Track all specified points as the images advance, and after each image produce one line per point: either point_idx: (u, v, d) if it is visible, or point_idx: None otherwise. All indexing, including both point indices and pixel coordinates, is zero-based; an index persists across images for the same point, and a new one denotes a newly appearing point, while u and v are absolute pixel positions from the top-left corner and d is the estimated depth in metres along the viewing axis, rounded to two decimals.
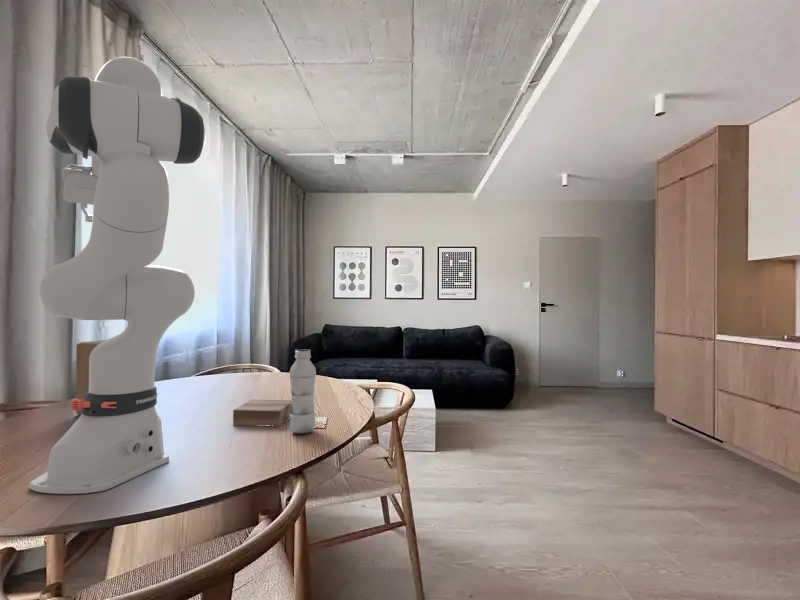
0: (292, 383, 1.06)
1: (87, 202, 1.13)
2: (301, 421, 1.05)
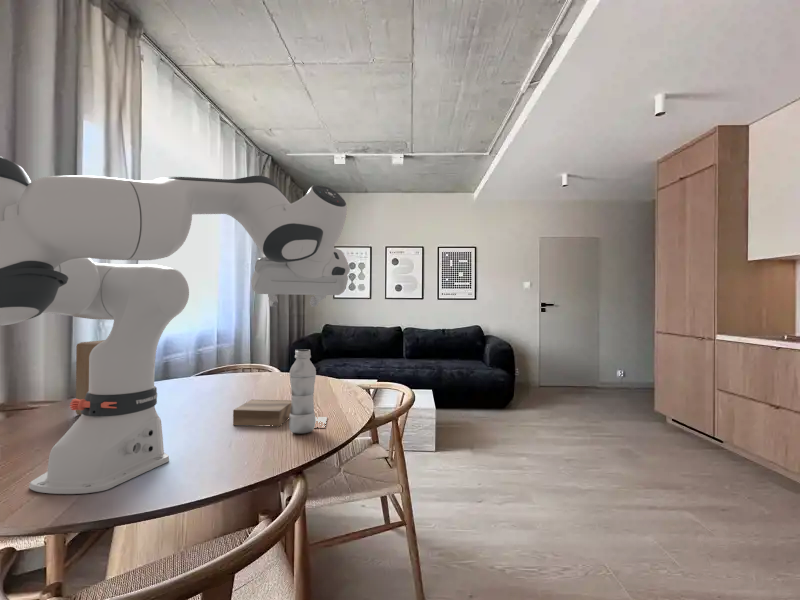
0: (292, 383, 1.06)
1: (277, 293, 0.94)
2: (301, 421, 1.05)
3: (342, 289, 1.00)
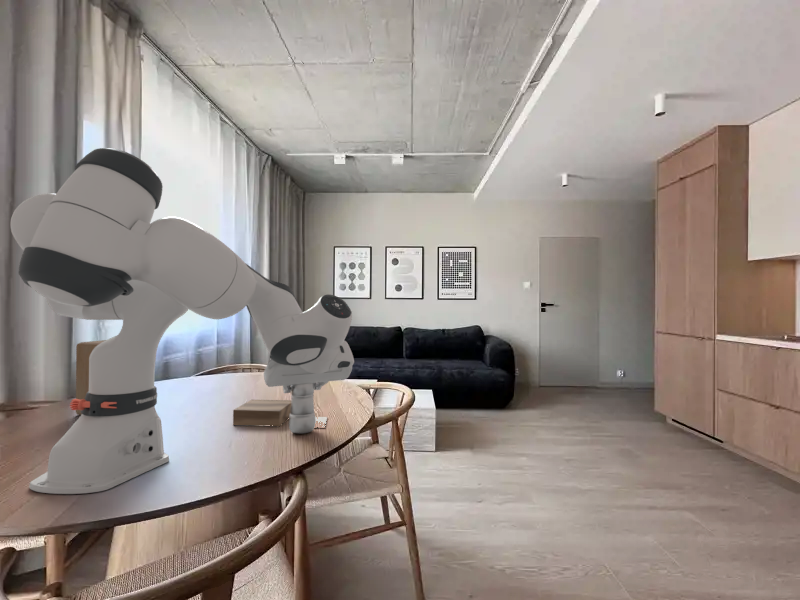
0: None
1: (287, 384, 1.02)
2: (301, 421, 1.05)
3: (347, 375, 1.08)
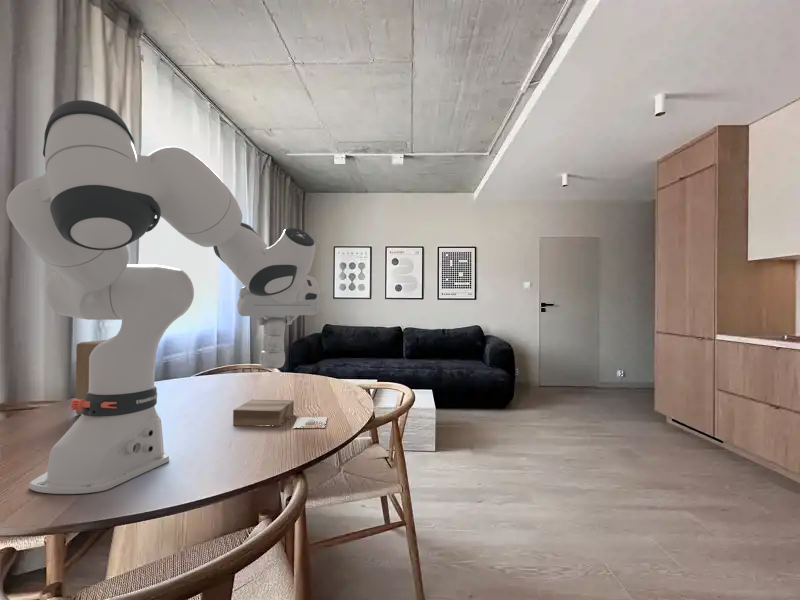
0: (265, 321, 1.15)
1: (259, 315, 1.11)
2: (272, 356, 1.14)
3: (316, 310, 1.17)
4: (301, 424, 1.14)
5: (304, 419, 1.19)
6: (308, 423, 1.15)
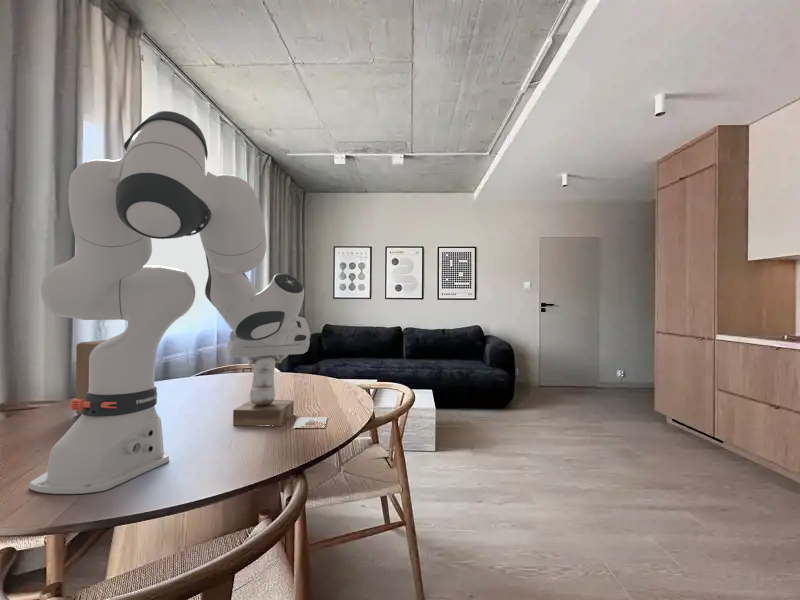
0: (255, 359, 1.17)
1: (249, 356, 1.13)
2: (262, 393, 1.16)
3: (305, 349, 1.19)
4: (301, 424, 1.14)
5: (304, 419, 1.19)
6: (308, 423, 1.15)
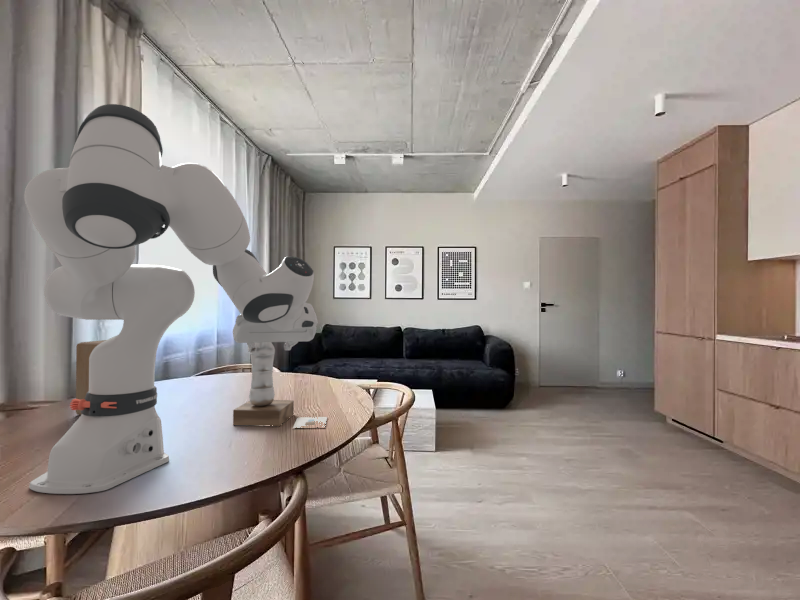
0: (253, 360, 1.16)
1: (254, 342, 1.10)
2: (261, 394, 1.16)
3: (311, 337, 1.17)
4: (301, 424, 1.14)
5: (304, 419, 1.19)
6: (308, 423, 1.15)
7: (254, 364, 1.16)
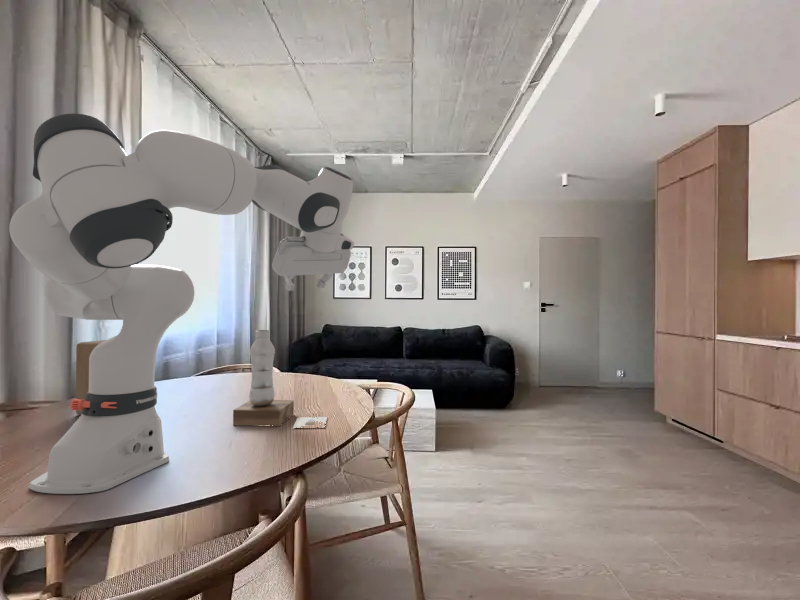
0: (253, 360, 1.16)
1: (296, 274, 1.04)
2: (261, 394, 1.16)
3: (346, 266, 1.13)
4: (301, 424, 1.14)
5: (304, 419, 1.19)
6: (308, 423, 1.15)
7: (254, 364, 1.16)
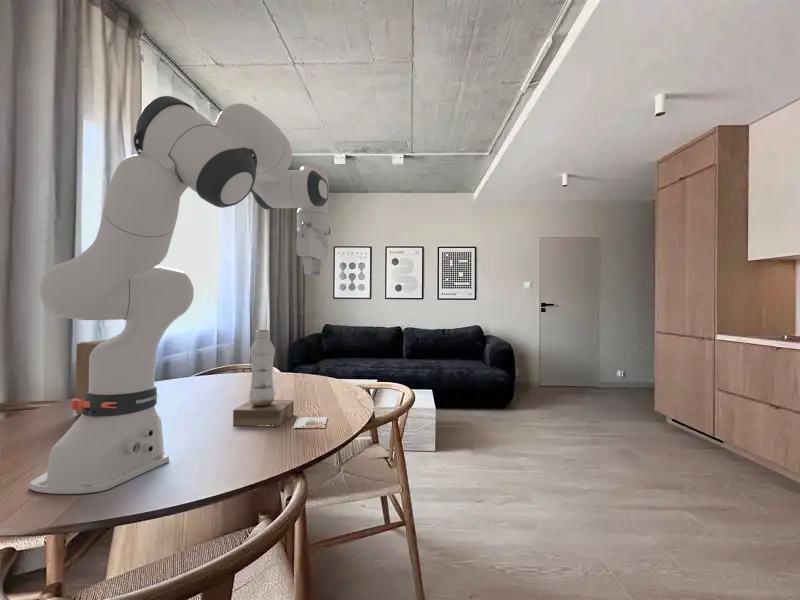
0: (253, 360, 1.16)
1: (314, 255, 1.19)
2: (261, 394, 1.16)
3: (327, 253, 1.34)
4: (301, 424, 1.14)
5: (304, 419, 1.19)
6: (308, 423, 1.15)
7: (254, 364, 1.16)
